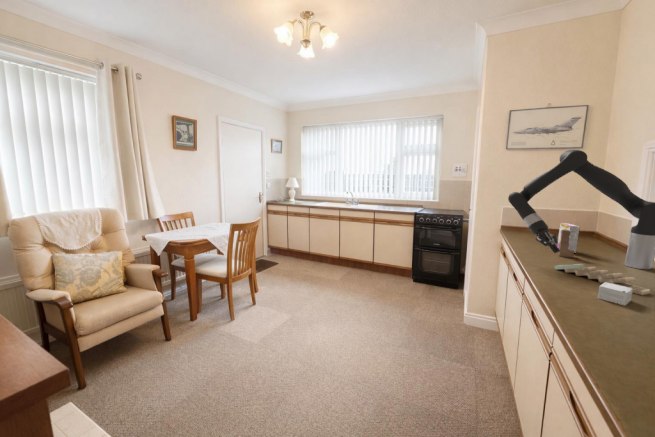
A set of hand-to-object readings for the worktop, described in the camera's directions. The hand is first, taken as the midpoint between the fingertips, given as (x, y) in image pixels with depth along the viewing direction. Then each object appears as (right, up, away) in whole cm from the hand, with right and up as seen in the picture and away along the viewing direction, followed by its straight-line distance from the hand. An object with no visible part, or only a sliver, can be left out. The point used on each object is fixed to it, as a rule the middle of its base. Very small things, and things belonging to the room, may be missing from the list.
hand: (557, 252), depth 143 cm
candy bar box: (+31, -3, +32) cm, 45 cm away
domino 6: (+8, -11, -20) cm, 24 cm away
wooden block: (+22, -5, +22) cm, 31 cm away
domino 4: (+5, -10, -13) cm, 17 cm away
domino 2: (+2, -8, -4) cm, 9 cm away
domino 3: (+3, -9, -8) cm, 13 cm away
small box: (-6, -14, -34) cm, 37 cm away
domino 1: (0, -8, 0) cm, 8 cm away
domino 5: (+7, -10, -16) cm, 21 cm away
